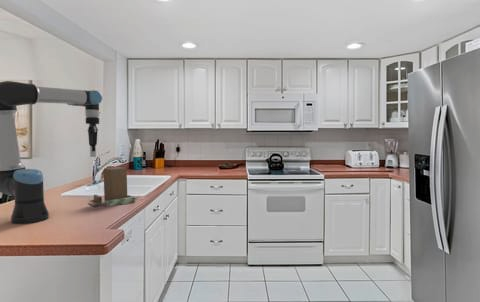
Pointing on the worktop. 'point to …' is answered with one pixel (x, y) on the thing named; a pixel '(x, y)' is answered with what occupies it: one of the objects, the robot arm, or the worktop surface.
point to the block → (115, 183)
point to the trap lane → (112, 201)
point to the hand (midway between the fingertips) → (93, 156)
